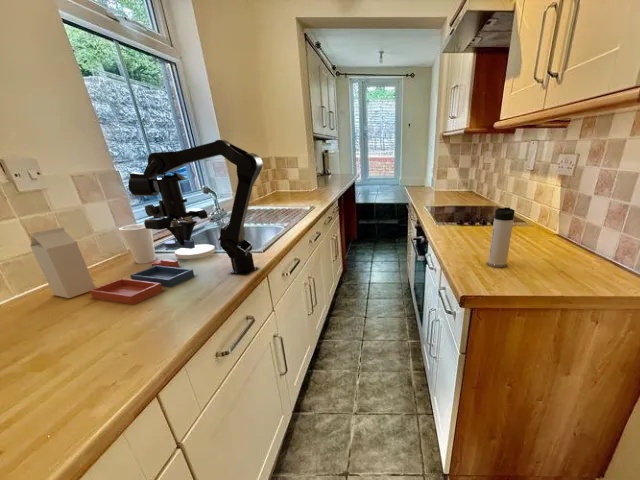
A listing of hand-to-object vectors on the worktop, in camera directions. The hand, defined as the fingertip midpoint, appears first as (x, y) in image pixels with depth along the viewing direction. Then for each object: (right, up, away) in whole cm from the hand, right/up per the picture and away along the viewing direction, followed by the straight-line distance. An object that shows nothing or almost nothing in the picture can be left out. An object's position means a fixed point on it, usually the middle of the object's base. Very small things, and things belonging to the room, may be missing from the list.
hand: (184, 244), depth 105 cm
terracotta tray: (-9, -16, -11) cm, 22 cm away
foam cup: (-25, -4, +16) cm, 30 cm away
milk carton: (-27, -16, -10) cm, 33 cm away
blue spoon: (-2, -1, +1) cm, 2 cm away
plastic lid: (-9, -2, +22) cm, 23 cm away
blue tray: (-6, -12, -1) cm, 13 cm away
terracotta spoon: (-13, -6, +10) cm, 18 cm away
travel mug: (+107, -6, +10) cm, 108 cm away
